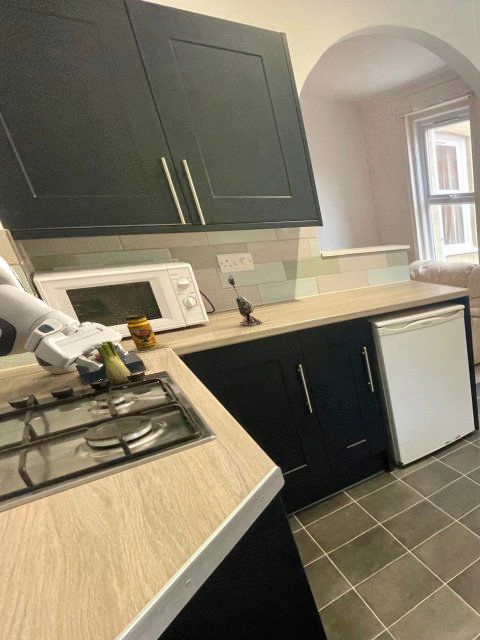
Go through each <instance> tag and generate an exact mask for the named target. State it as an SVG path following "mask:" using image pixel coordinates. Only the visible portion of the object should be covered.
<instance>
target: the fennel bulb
mask: <svg viewBox="0 0 480 640" xmlns="http://www.w3.org/2000/svg"><path fill="white" fill-rule="evenodd" d="M96 348H97V350H98V352H99V354H100V356H101V358H102V360H103V362H104V364H105V368H106V375H107V378H108V379H107V380H108V381H109V382H110V383H111V384H113V385H120V384H125V383H128V382H130V381H131V380H127V375H128V374H131V375H132V373H130V371H129V370H128V369H127V368H126V366H125V365H124V363H123V362H122V361H121V359H120V358H119V356H118V355H117V353H116V350H115V348H114V346H113V343H112V341H106V342H102V346H98V347H96Z"/></svg>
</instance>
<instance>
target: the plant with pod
mask: <svg viewBox="0 0 480 640" xmlns="http://www.w3.org/2000/svg"><path fill="white" fill-rule="evenodd" d="M227 282H228V284H229V285H231V286H232V287H233V289H234V291H235V293H236V295H237V297H235V300H236V305H237V308H238V311H239V314H240V316H242V317H243V318H242V321H240V322H239V325H240V326H241V325H242V326H250V327H251V326H256V325H259V324H262V320H261V319H258V318H256V317H255V316H253V315H251V314H252V313H253V312H254V309H255V307H254V304H253V303H252V302H251V301H250V300H249V299H248V298H246V297H245V296H242V295H239V293H238V291H237V289H236V286H235V285H236V282H235V279H234V276H233V275H231V274H230V275H228V278H227Z"/></svg>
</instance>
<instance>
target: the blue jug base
mask: <svg viewBox="0 0 480 640" xmlns="http://www.w3.org/2000/svg"><path fill="white" fill-rule="evenodd" d="M119 358H120V357H119ZM120 359H121V361H122V362H123V363H124V365H125V366H126V368H127V369H128V370H129V371H130V373H131V374H134V373H139V372H143V371H147V368H146V365H145V363H144V361H143V360H142V359H141V357H140V356H138V354H136V353H135V352H130V353H128V355H127V357H124V358H120ZM90 360H91V361H94V362H95V361H98V362H100V363H102V364H103V367H102V368H101V369H99V370H97V371H96V370H94V369H92V368H90V367H85V366H80V365H76V366H75V367H76V369H77V370H76V371H77V373H78V375H79V377H80V379H81V381H82V383H83V385H84V386H86V385H91V384H94V383H93V382H95V383H98V382H97V381H99V380H100V379H107V380H108V378H107V375H106V368H105V364H104V362H103V360H96V358H95V357H93V358H91V359H90ZM99 382H100V381H99Z"/></svg>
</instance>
